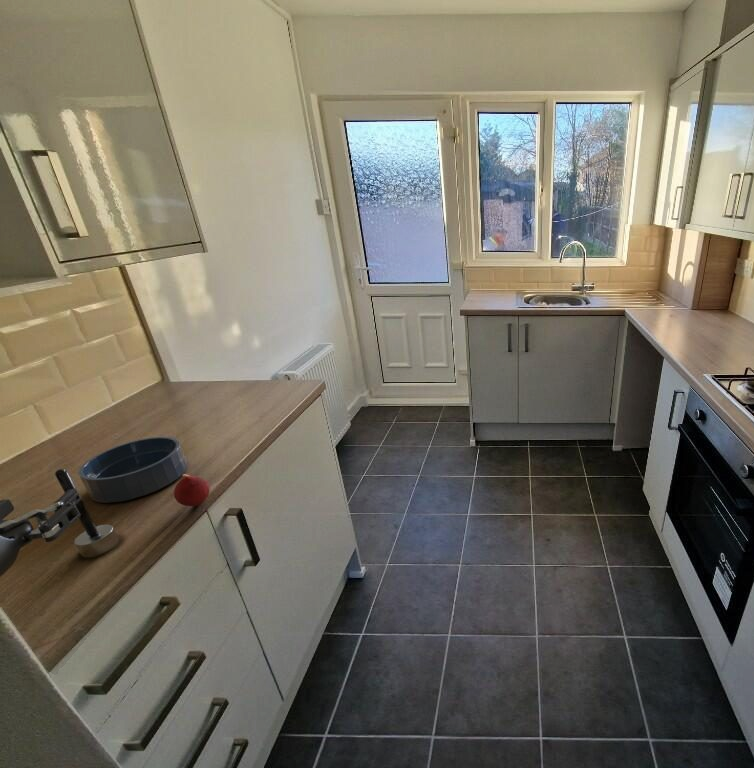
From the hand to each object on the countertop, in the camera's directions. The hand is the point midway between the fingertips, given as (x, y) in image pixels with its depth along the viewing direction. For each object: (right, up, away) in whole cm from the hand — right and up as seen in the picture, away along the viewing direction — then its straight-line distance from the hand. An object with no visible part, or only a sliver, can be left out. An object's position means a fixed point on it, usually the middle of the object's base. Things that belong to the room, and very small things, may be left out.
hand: (42, 498), depth 66 cm
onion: (+9, -8, +21) cm, 24 cm away
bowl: (-11, -4, +30) cm, 32 cm away
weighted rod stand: (-1, -12, +11) cm, 16 cm away
